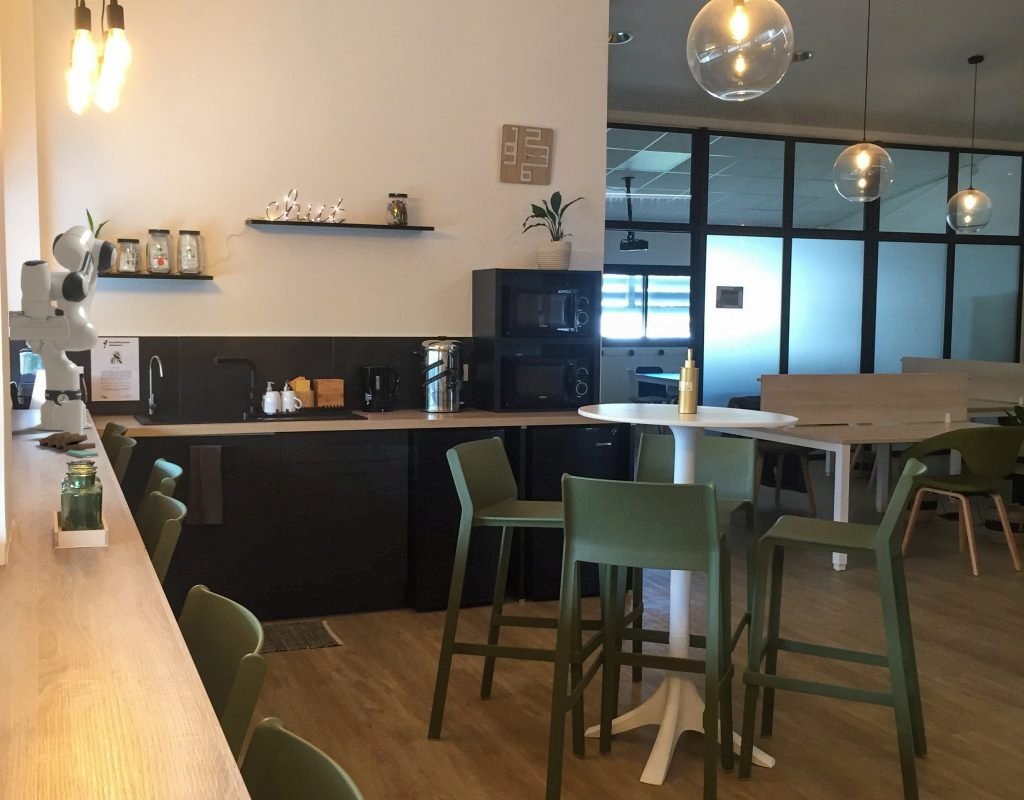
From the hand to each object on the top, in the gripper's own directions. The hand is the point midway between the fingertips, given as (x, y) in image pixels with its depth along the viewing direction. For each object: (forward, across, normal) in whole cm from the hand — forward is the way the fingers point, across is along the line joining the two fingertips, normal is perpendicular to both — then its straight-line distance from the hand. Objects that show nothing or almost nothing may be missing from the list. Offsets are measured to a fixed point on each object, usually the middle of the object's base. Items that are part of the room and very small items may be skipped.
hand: (37, 353), depth 329 cm
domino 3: (+28, 0, -16) cm, 32 cm away
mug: (+29, +14, +8) cm, 33 cm away
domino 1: (+28, 0, -5) cm, 29 cm away
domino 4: (+28, 0, -20) cm, 35 cm away
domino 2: (+28, 0, -10) cm, 30 cm away
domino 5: (+29, -3, -28) cm, 40 cm away
